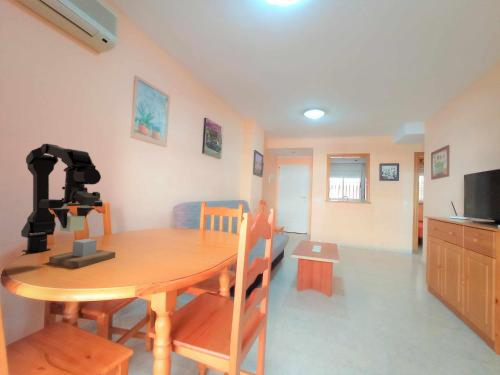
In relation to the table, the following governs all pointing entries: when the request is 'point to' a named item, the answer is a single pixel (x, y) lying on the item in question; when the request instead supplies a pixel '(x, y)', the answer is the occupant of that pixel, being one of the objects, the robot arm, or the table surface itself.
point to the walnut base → (81, 259)
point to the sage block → (74, 223)
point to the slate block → (84, 247)
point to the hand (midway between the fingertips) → (72, 227)
